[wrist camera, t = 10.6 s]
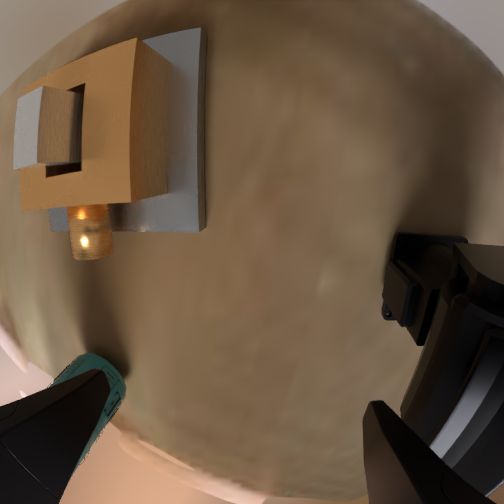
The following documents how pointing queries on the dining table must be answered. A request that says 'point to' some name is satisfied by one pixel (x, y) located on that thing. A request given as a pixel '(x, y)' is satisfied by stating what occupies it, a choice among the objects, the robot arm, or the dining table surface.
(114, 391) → the beverage bottle
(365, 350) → the dining table surface
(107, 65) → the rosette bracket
